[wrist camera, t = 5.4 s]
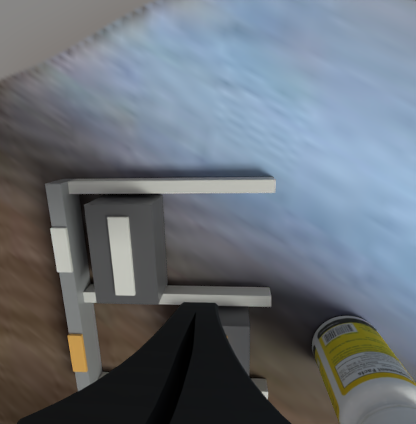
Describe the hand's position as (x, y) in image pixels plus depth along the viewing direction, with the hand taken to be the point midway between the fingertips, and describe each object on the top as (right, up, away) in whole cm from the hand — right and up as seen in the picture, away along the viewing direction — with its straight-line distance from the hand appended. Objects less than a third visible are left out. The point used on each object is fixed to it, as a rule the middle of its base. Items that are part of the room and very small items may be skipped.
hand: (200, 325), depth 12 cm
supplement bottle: (+10, -5, +11) cm, 15 cm away
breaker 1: (-5, +2, +9) cm, 11 cm away
